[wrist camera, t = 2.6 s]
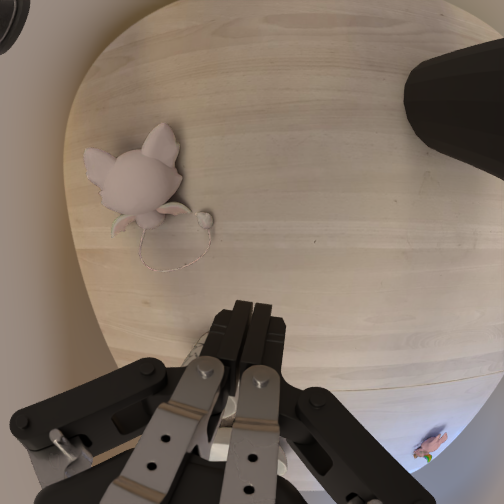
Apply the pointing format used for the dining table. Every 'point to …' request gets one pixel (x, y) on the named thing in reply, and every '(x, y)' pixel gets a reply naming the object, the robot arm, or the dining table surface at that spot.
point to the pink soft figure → (429, 447)
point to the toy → (141, 183)
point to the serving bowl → (222, 446)
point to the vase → (461, 105)
